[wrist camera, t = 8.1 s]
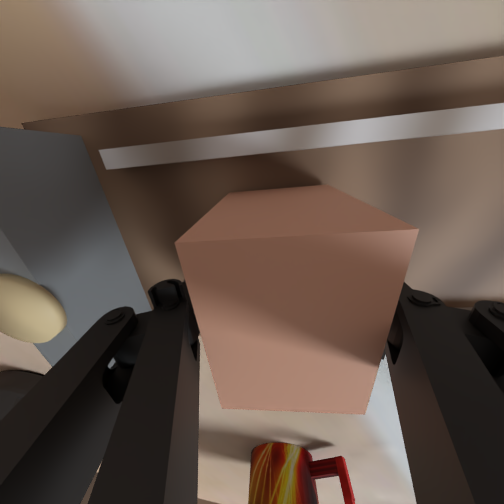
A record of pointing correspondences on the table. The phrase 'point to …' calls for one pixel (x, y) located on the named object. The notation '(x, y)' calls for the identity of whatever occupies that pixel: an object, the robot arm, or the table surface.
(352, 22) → the table surface
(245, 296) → the salmon pink box
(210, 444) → the table surface
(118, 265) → the knobbed grey end panels
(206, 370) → the table surface
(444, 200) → the rail track
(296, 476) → the mug
